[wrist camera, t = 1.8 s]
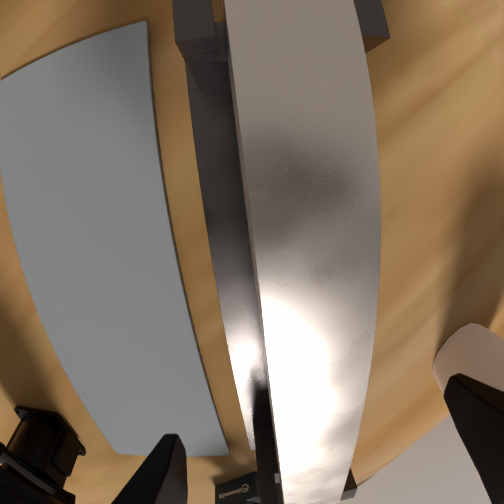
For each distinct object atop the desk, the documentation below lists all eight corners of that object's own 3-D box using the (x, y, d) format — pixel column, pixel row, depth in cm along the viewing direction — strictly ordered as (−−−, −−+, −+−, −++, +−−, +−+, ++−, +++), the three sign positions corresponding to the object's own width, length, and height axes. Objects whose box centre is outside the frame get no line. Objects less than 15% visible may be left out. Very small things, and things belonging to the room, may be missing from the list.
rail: (281, 491, 16) (286, 527, 13) (218, -15, 7) (215, -66, 4) (324, 483, 16) (334, 517, 13) (307, -17, 7) (332, -63, 4)
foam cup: (414, 341, 20) (508, 463, 8) (495, 288, 19) (596, 366, 7) (420, 406, 23) (479, 503, 11) (489, 359, 22) (558, 435, 10)
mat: (117, 449, 22) (116, 453, 22) (0, 84, 12) (-4, 83, 11) (229, 450, 23) (229, 454, 22) (148, 23, 12) (146, 20, 12)
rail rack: (249, 439, 22) (258, 524, 14) (185, 37, 13) (149, -51, 5) (330, 425, 22) (357, 505, 14) (314, 28, 13) (378, -51, 5)
